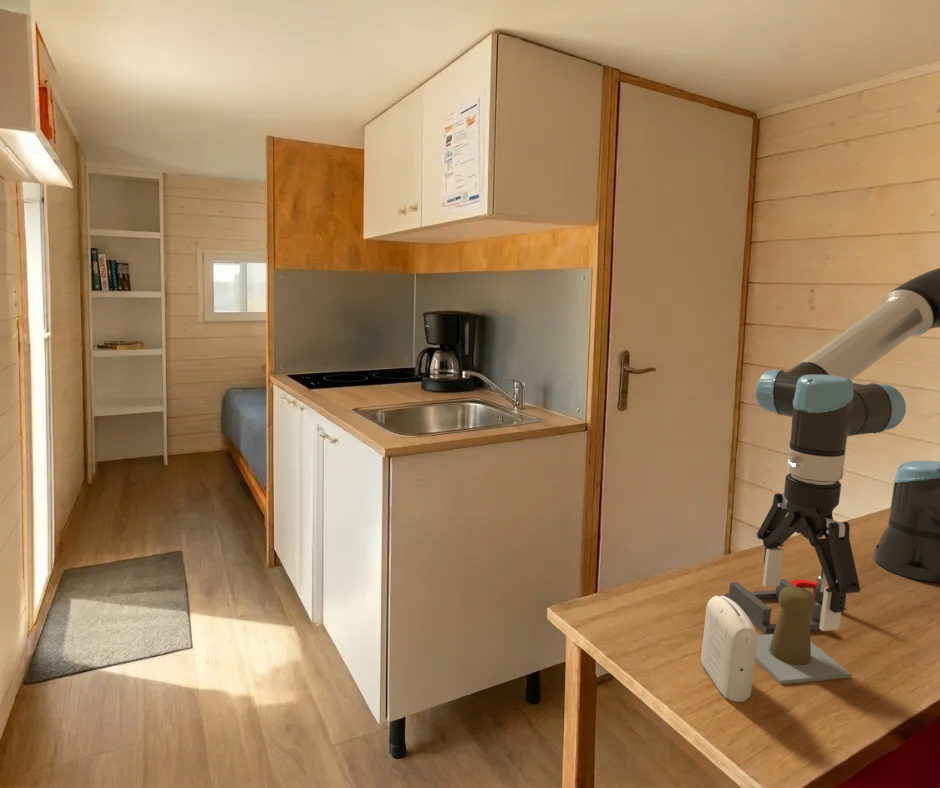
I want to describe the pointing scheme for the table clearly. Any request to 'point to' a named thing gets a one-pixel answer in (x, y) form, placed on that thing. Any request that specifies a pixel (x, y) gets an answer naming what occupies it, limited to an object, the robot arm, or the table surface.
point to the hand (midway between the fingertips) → (798, 606)
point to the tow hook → (814, 586)
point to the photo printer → (729, 648)
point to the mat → (789, 673)
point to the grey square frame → (765, 606)
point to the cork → (793, 626)
